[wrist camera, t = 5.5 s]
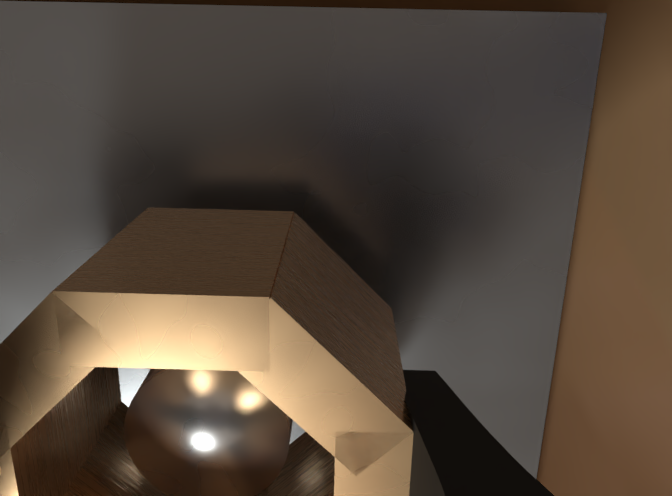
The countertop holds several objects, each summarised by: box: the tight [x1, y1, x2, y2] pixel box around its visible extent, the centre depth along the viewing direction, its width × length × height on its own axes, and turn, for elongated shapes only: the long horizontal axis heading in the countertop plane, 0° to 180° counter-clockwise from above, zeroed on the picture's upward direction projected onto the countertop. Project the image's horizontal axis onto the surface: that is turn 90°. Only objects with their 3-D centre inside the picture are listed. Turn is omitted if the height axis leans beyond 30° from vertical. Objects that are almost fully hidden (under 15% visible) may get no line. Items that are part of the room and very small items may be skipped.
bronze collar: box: [0, 207, 414, 496], centre depth 9 cm, size 6×6×3 cm
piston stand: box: [0, 1, 607, 496], centre depth 11 cm, size 12×12×4 cm
